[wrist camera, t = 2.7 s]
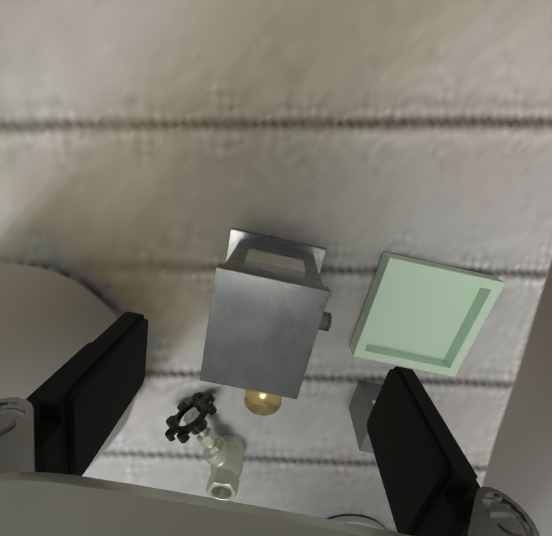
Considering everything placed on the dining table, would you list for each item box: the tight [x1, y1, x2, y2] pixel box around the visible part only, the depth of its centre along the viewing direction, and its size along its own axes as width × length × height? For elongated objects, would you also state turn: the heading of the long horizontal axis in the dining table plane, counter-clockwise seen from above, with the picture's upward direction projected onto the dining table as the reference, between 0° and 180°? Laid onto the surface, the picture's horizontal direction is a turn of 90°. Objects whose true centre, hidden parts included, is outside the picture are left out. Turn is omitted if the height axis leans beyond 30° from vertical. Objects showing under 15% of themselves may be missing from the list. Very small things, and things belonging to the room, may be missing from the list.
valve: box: [165, 392, 245, 501], centre depth 36 cm, size 7×7×12 cm
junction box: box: [200, 228, 332, 399], centre depth 27 cm, size 12×11×10 cm
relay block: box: [349, 381, 383, 453], centre depth 34 cm, size 5×4×6 cm
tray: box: [350, 252, 505, 377], centre depth 31 cm, size 12×12×2 cm
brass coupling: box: [245, 389, 281, 415], centre depth 34 cm, size 4×4×5 cm
